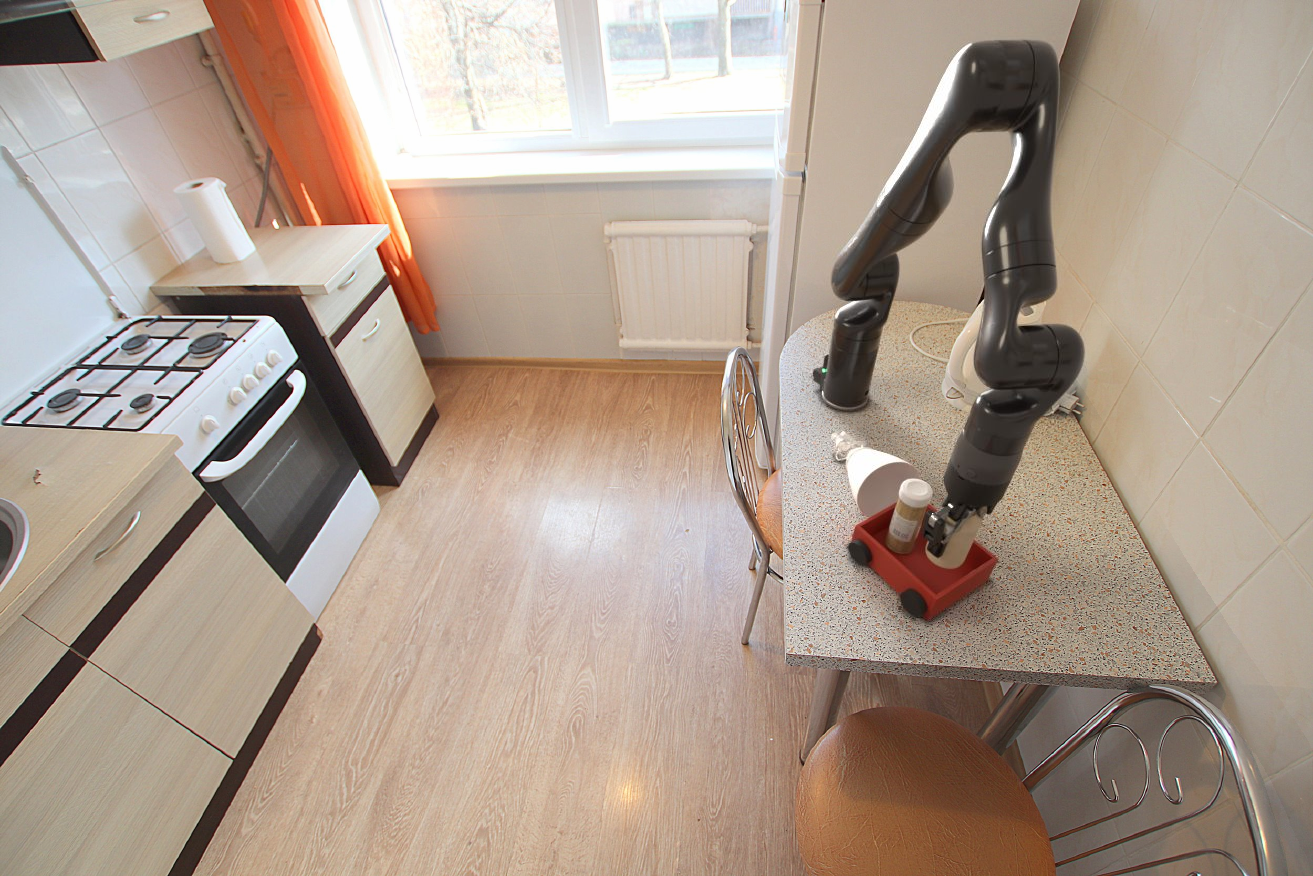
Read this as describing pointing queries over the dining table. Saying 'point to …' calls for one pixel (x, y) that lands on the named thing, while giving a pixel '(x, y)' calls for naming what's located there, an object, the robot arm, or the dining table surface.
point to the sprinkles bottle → (908, 515)
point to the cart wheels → (908, 598)
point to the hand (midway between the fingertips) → (948, 543)
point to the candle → (957, 544)
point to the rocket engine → (873, 474)
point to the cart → (923, 565)
